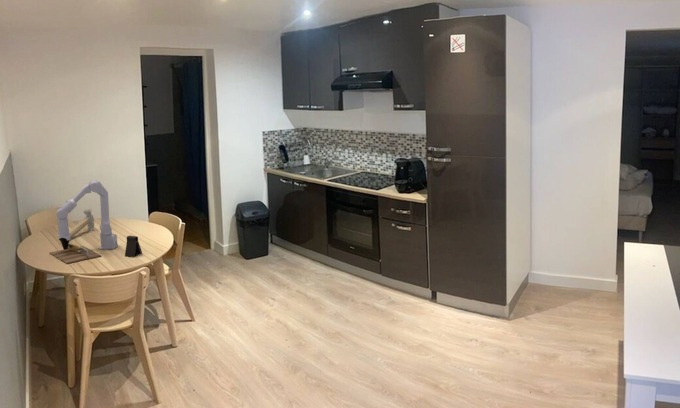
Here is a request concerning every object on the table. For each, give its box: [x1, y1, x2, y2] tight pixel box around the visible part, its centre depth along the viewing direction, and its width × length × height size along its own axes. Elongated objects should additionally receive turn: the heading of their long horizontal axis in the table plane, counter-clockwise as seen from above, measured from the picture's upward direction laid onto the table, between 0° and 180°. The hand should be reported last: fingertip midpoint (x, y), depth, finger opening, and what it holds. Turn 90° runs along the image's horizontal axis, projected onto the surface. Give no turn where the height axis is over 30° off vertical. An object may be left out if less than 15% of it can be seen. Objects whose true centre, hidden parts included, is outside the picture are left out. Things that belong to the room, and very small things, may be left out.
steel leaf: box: [78, 247, 89, 257], centre depth 331 cm, size 13×2×4 cm, turn 46°
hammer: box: [69, 207, 95, 240], centre depth 376 cm, size 16×5×30 cm
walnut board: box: [49, 245, 102, 265], centre depth 333 cm, size 28×20×1 cm
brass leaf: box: [68, 243, 83, 252], centre depth 337 cm, size 13×2×4 cm, turn 61°
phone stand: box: [124, 235, 143, 258], centre depth 334 cm, size 9×6×12 cm, turn 164°
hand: (65, 249), depth 338 cm, fingers closed
